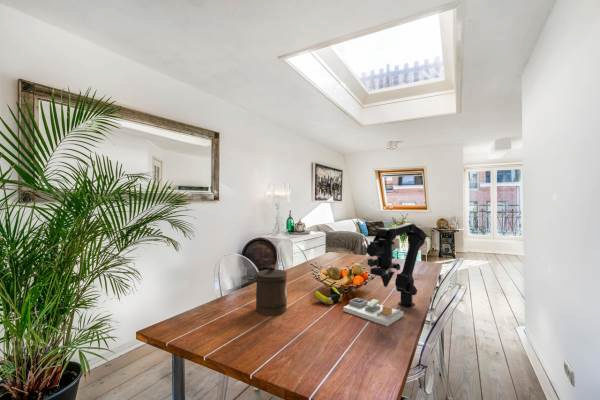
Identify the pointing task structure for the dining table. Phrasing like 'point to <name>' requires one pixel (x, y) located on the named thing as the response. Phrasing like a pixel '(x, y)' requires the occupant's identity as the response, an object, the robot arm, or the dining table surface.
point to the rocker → (372, 303)
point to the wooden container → (271, 291)
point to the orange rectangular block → (386, 310)
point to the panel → (372, 312)
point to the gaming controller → (330, 299)
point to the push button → (358, 300)
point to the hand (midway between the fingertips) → (385, 286)
